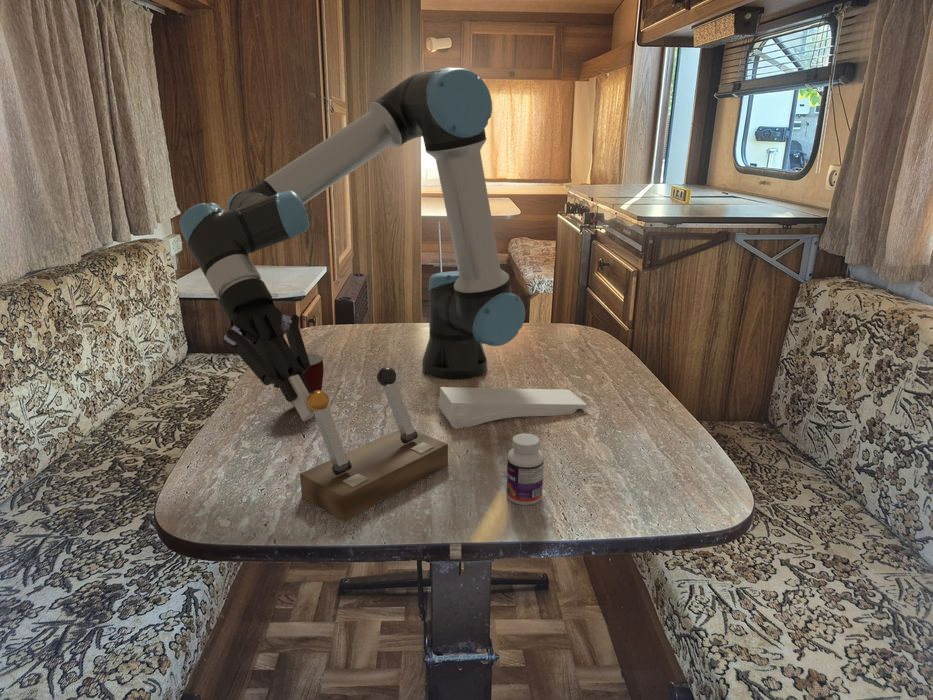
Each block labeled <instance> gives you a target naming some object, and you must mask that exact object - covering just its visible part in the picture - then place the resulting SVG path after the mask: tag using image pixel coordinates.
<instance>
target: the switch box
mask: <svg viewBox="0 0 933 700" xmlns="http://www.w3.org/2000/svg"><path fill="white" fill-rule="evenodd" d="M415 431H416V430H415ZM416 432H417V435H418V437H417V438H416V439H414V440H412V441H410V442H408V443H406V444H404V443H402V441H401V439H400V436H401V434H400V431H399V429H397V430H395V431H394V432H391V433H389V434H386V435H384V436H382V437H380V438H377V439H375V440H373V441H370V442H368V443H366V444H364V445H361V446H359V447H357V448H355V449H352V450H349V451H348V452H345V454H346V457H347V460H349V461H350V462H351V465H352V468H351V469H350V470H348V471H346V472H343V473H341V474H339V475H335V474H334V473H333V471H332V466H333V464H332V462H331V459H330V460H327V461H325V462H323V463H321V464H318V465H316V466H314V467H311V468H309V469H307V470H305V471H302V472H301V473H299V478H300V493H301V498H303V499H304V500H306V501H308V502H310V503H311V504H313V505H315V506H317V507H318V508H320V509H322V510H324V511H326V512H327V513H329V514H331V515H332V516H334V517H336V518H338V519H340V520H342V521H344V522H345V521H347V520H350V519H351V518H353V517H354V516H356V515H358V514H360V513H362V512H364V511H366V510H368V509H370V508H371V507H374V506H375V505H377V504H379V503H381V502H383V501H384V500H386V499H389V498H390V497H392V496H394V495H396V494H398V493H400V492H401V491H403V490H405V489H407V488H409V487H411V486H413V485H414V484H416V483H419V482H420V481H423V480H424V479H426V478H428V477H429V476H432V475H433V474H436V473H437V472H439V471H441V470H443V469H445V468H446V467H448V466H449V443H446V442H443V441H441V440H439V439H437V438H434V437H431V436H429V435H426V434H423V433H421V432H419V431H416Z"/></svg>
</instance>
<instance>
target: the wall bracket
mask: <svg viewBox="0 0 933 700" xmlns="http://www.w3.org/2000/svg"><path fill="white" fill-rule="evenodd" d="M439 388H440V389H439V397H438V400H437V404H438V407H439V409H440V411H441V412H442V413H443V415H444V416H445V418H446V420H447V421H448V422H449V423H450V425H451V426H452V428H454V429H455V430H456V429H462V428H463V429H464V428H469V427H475V426H477V425H480V424H481V425H482V424H485V423H487V422H491V421H497V420H502V419H503V420H504V419H509V418H518V417H519V418H520V417H555V416H562V415H569V414H570V415H571V414H575V412H576V411H578V409H579V410H580V409H581V410H582V409H583V410H586V409H587V406H588V404H587V403H586V402H585V401H583V400H582V399H581V398H580V397H579V396H578V395H576V394H575V393H574V392H572V391H571V390H570V389H561V388H559V389H557V388H556V389H553V388H511V387H510V388H507V387H506V388H505V387H504V388H503V387H502V388H501V387H498V388H497V387H457V386H456V387H453V386H449V387H448V386H447V387H446V386H440V387H439Z"/></svg>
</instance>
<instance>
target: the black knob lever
mask: <svg viewBox="0 0 933 700" xmlns="http://www.w3.org/2000/svg"><path fill="white" fill-rule="evenodd" d="M376 379H377V382H378V383H379V385H380V386H382V388H383V390H384V394H385V396H386V398H387V401H388V404H389V407H390V409H391V412H392V415H393V418H394V420H395V423H396V425H397V428H398V430H399V431H400V434H401V436H400V439H401V441H402V443H404V444H406V443H408V442H410V441H412V440H414V439H416V438H417V437H418V435H417V432H418V431H417V432H416V430H415V429H414V426H413V424H412V421H411V419H410V415H409V413H408V410H407V408H406V407H407V406H405V402H404V400H403V396H402V394H401V392H400V389H399V386H398V384H397V373H396V371H395V370H394V368H391V367H389V366H385V367H382V368H380V369H379V370H378V371H377V374H376Z"/></svg>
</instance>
